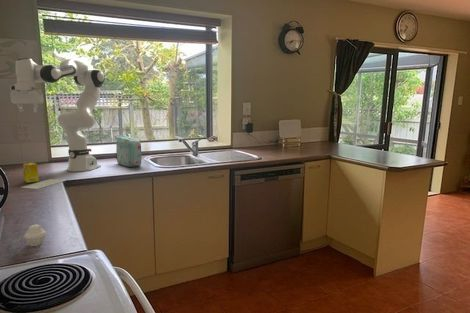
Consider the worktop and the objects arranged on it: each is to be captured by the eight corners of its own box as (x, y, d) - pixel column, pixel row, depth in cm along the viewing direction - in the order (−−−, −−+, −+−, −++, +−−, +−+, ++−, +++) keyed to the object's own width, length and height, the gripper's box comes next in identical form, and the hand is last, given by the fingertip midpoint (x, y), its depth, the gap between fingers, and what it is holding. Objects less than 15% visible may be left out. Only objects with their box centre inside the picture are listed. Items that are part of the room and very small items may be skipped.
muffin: (21, 245, 109) (19, 225, 108) (41, 239, 114) (39, 219, 113) (31, 250, 106) (29, 229, 104) (50, 243, 111) (49, 223, 109)
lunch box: (114, 163, 251) (112, 135, 248) (127, 162, 258) (126, 134, 254) (129, 169, 232) (128, 138, 228) (143, 167, 239) (142, 137, 235)
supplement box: (24, 182, 192) (22, 163, 190) (35, 180, 196) (34, 162, 194) (26, 184, 187) (25, 165, 186) (38, 182, 192) (37, 163, 190)
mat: (50, 179, 199) (50, 178, 199) (65, 180, 196) (65, 180, 196) (20, 187, 180) (20, 187, 180) (36, 189, 177) (36, 188, 177)
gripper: (45, 87, 189) (47, 112, 191) (17, 87, 194) (19, 111, 196) (36, 87, 183) (38, 112, 185) (7, 87, 188) (9, 111, 190)
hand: (28, 112), depth 191 cm, fingers open, 8 cm apart
